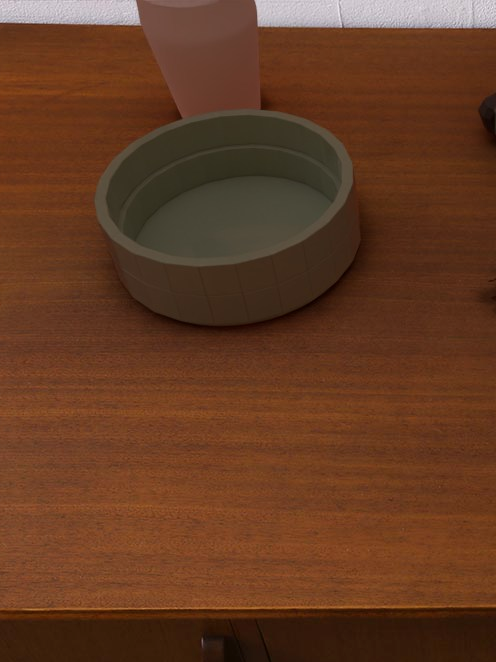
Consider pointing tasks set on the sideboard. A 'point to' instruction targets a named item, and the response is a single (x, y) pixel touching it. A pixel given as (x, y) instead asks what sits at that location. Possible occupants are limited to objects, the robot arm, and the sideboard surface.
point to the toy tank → (489, 114)
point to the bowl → (230, 216)
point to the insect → (491, 281)
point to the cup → (205, 52)
